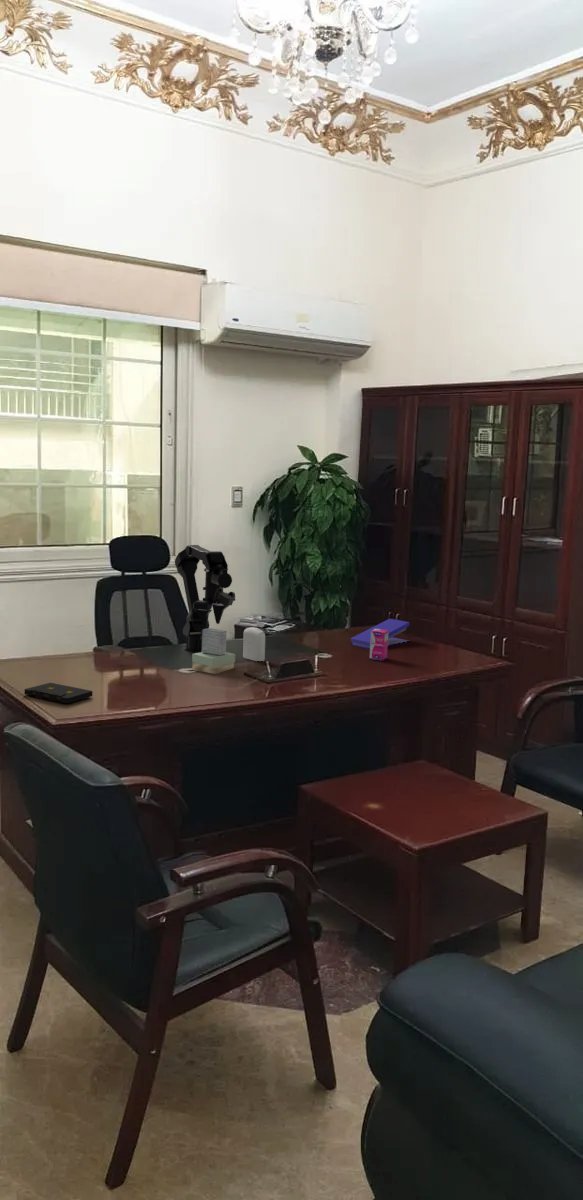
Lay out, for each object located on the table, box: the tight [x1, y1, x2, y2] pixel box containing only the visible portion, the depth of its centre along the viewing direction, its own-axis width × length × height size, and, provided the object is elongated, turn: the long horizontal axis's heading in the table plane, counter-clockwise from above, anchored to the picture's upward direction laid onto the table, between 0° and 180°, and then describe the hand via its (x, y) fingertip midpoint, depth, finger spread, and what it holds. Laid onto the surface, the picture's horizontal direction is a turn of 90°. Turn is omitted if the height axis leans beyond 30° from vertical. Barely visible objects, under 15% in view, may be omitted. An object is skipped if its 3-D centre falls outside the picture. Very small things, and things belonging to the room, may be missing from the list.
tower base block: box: [191, 662, 235, 675], centre depth 332 cm, size 10×12×3 cm
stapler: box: [350, 618, 410, 650], centre depth 391 cm, size 12×28×10 cm, turn 137°
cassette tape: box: [24, 682, 93, 704], centre depth 288 cm, size 18×12×2 cm, turn 61°
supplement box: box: [369, 629, 389, 662], centre depth 361 cm, size 6×6×12 cm
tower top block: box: [191, 651, 236, 667], centre depth 332 cm, size 10×12×3 cm
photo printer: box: [242, 626, 266, 662], centre depth 350 cm, size 10×4×12 cm, turn 39°
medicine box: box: [201, 627, 228, 655], centre depth 331 cm, size 8×4×9 cm, turn 59°
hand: (211, 625), depth 347 cm, fingers open, 9 cm apart
